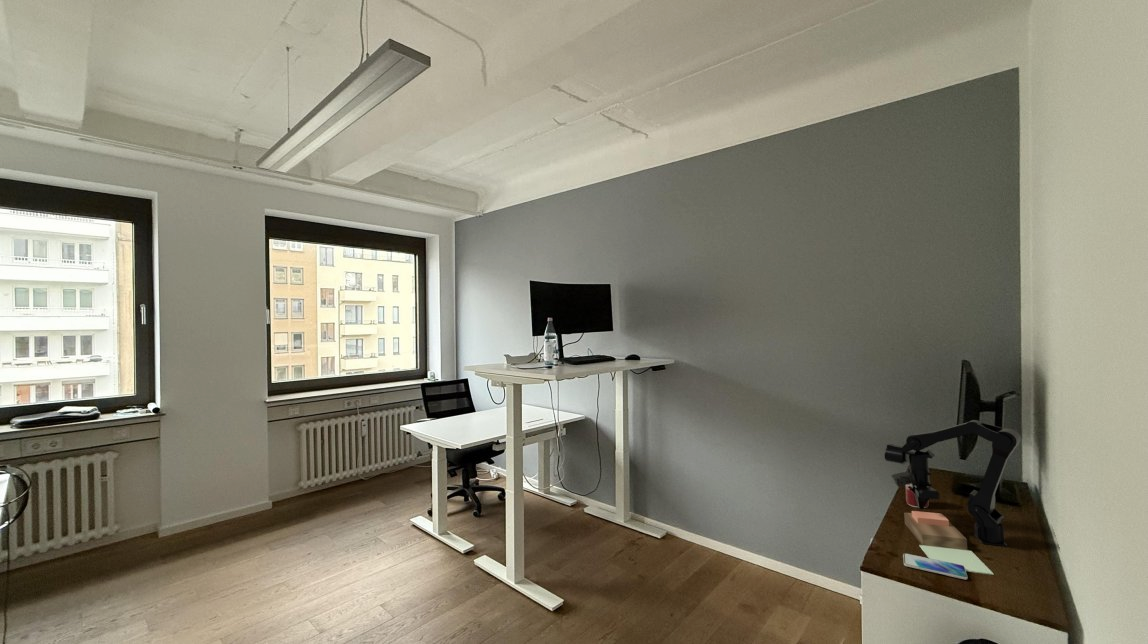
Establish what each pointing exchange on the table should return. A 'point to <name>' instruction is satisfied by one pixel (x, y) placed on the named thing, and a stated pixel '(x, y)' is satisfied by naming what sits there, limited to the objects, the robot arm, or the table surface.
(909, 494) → the soda can
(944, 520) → the block
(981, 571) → the mat
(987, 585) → the table surface
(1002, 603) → the table surface
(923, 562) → the smartphone
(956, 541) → the tan flat slab
